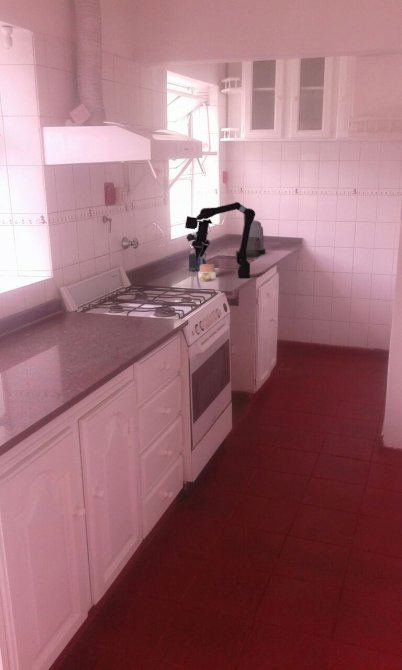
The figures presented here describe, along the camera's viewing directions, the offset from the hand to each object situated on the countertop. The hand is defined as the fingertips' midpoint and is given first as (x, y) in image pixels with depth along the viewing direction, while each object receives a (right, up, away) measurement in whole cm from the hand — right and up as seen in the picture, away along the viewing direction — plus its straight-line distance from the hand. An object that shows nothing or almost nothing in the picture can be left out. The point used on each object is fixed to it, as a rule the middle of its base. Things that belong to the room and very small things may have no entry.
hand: (199, 257), depth 352 cm
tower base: (+5, -10, +12) cm, 16 cm away
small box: (-1, -4, +33) cm, 33 cm away
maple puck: (+4, -14, -3) cm, 14 cm away
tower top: (+5, -7, +11) cm, 13 cm away
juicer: (+39, +13, +90) cm, 99 cm away
